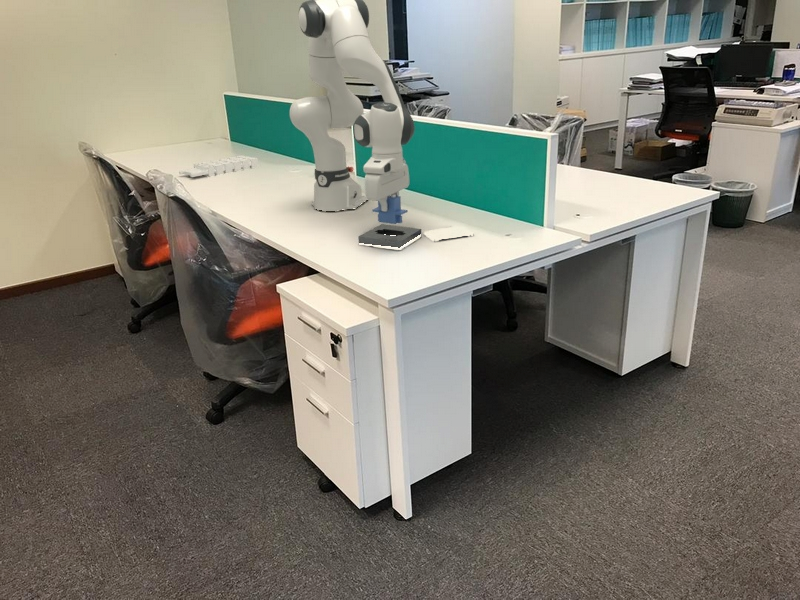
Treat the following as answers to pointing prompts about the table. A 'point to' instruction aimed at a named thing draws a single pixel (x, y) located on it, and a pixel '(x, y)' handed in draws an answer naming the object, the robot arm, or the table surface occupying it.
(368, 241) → the plate
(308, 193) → the table surface
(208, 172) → the organizer
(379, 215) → the block
